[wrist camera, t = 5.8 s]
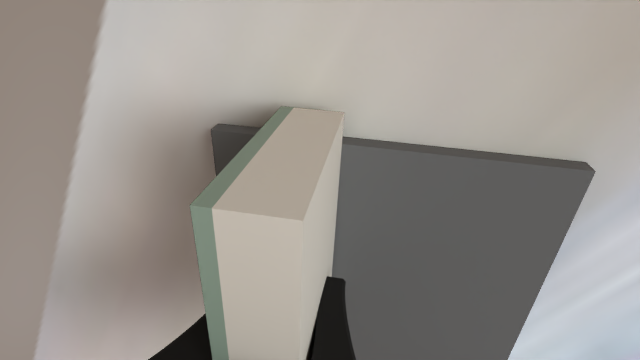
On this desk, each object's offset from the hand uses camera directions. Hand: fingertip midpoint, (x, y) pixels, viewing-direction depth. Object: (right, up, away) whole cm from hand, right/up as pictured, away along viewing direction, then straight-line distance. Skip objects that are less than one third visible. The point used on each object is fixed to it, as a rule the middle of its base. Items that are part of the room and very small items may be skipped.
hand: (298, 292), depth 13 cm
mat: (+3, -3, +4) cm, 6 cm away
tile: (0, +3, 0) cm, 3 cm away
